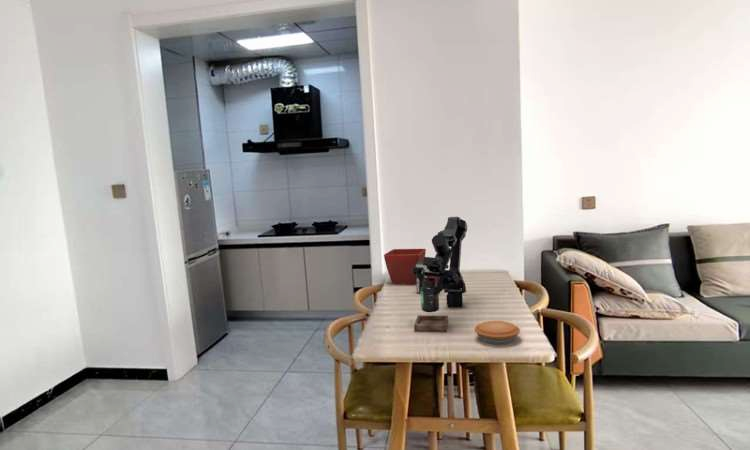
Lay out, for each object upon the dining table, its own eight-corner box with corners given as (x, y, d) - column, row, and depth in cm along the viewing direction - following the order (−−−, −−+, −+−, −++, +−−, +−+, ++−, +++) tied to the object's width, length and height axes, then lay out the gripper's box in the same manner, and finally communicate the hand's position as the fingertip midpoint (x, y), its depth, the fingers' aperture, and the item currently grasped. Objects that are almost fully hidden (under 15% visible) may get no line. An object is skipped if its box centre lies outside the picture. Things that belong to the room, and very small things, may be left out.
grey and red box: (416, 293, 230) (414, 263, 228) (418, 291, 234) (417, 262, 232) (438, 294, 226) (436, 264, 224) (440, 292, 230) (438, 262, 228)
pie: (493, 350, 154) (492, 335, 154) (466, 336, 169) (465, 323, 168) (530, 341, 160) (529, 327, 160) (500, 328, 175) (500, 315, 174)
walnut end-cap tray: (448, 321, 186) (448, 315, 185) (446, 331, 174) (446, 325, 174) (418, 321, 188) (417, 315, 188) (414, 331, 177) (414, 325, 176)
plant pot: (394, 277, 268) (393, 248, 266) (427, 278, 262) (426, 248, 260) (385, 285, 250) (383, 254, 248) (420, 286, 244) (418, 254, 242)
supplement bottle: (421, 312, 178) (419, 281, 176) (422, 307, 185) (420, 277, 183) (439, 312, 177) (437, 281, 175) (439, 307, 183) (437, 277, 182)
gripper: (413, 246, 187) (398, 280, 180) (453, 249, 175) (439, 285, 168) (425, 262, 194) (411, 294, 187) (465, 266, 182) (451, 301, 175)
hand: (427, 293), depth 179 cm, fingers closed on supplement bottle, 7 cm apart
